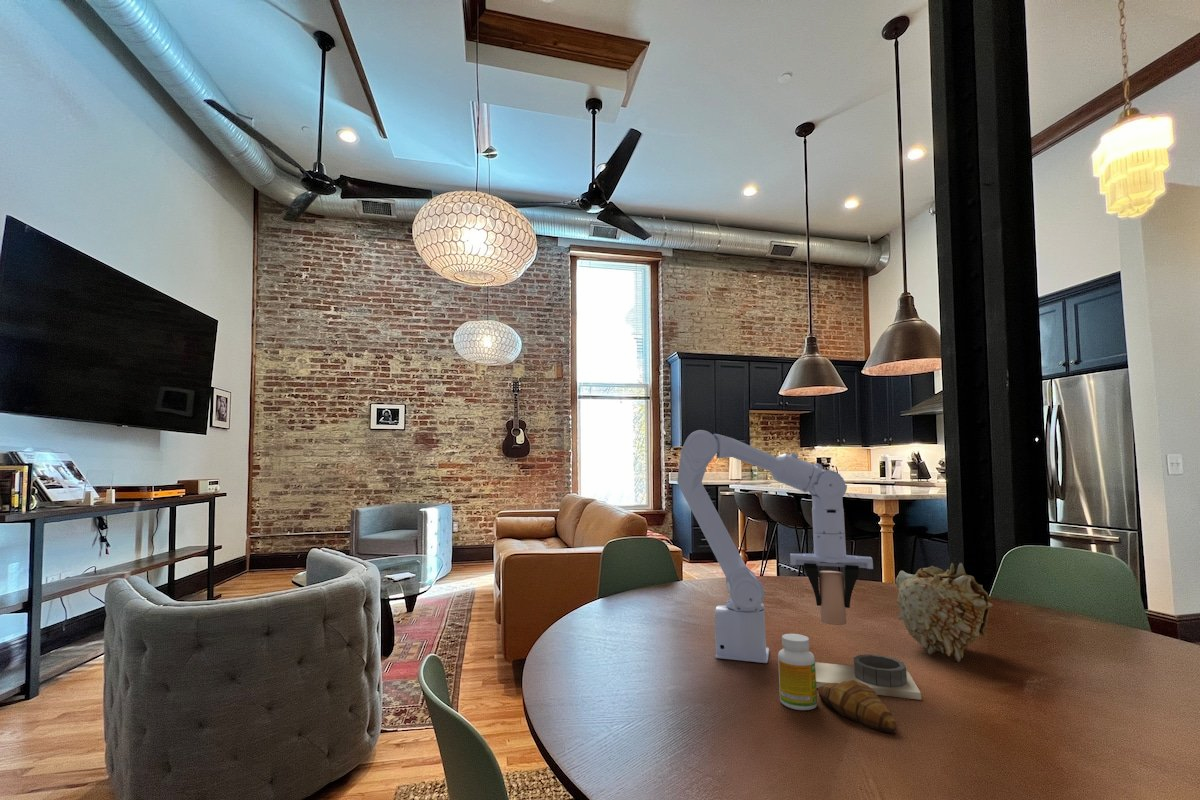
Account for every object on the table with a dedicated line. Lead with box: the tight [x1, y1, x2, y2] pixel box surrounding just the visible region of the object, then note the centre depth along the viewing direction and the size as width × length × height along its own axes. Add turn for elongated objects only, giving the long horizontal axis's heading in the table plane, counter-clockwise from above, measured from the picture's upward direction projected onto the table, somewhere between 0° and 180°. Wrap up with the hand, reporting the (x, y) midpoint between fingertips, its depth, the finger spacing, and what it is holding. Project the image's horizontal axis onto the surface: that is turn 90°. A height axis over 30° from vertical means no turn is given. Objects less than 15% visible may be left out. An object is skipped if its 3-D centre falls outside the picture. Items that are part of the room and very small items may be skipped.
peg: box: [818, 570, 847, 626], centre depth 105 cm, size 4×4×9 cm
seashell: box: [895, 562, 994, 663], centre depth 108 cm, size 18×18×15 cm
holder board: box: [815, 654, 922, 701], centre depth 93 cm, size 20×10×4 cm, turn 71°
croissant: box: [817, 680, 898, 734], centre depth 81 cm, size 14×7×5 cm, turn 21°
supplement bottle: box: [777, 633, 818, 711], centre depth 84 cm, size 5×5×10 cm
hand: (832, 605), depth 104 cm, fingers closed on peg, 4 cm apart
